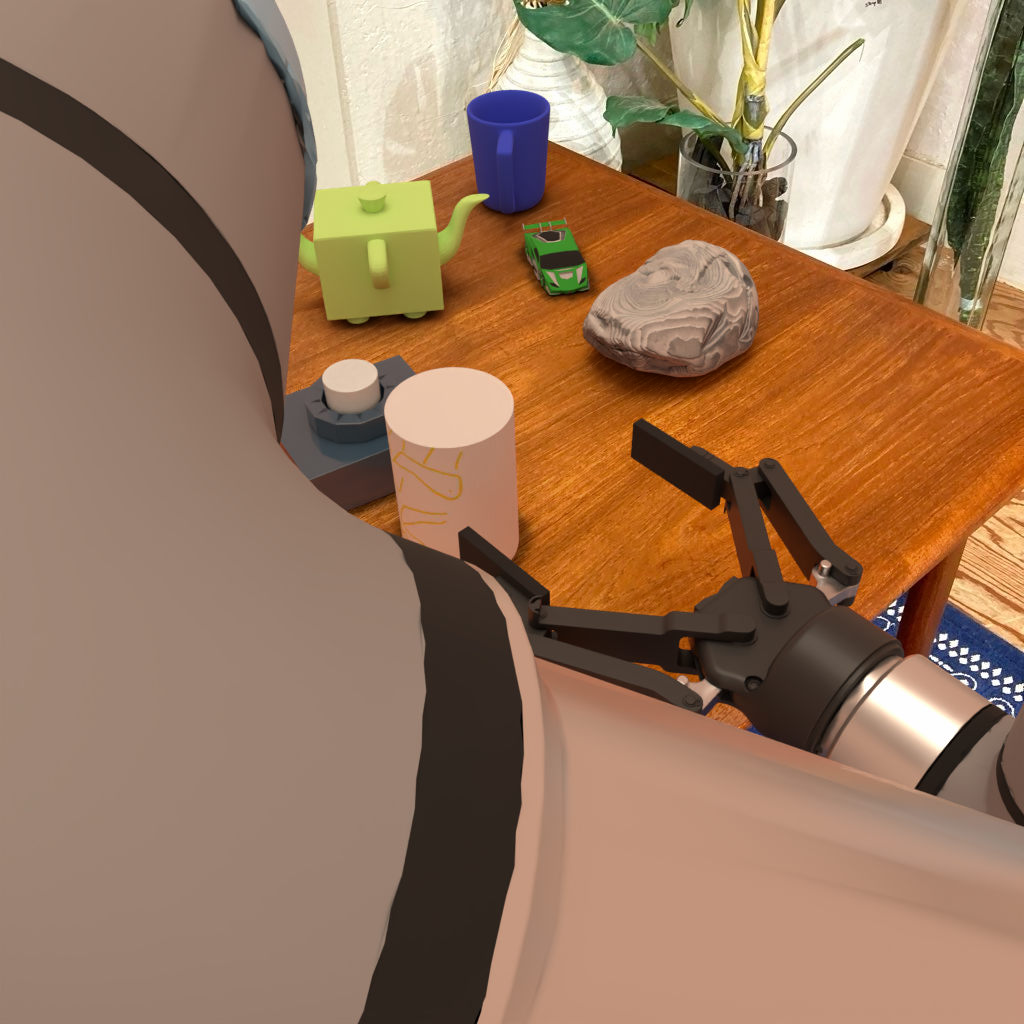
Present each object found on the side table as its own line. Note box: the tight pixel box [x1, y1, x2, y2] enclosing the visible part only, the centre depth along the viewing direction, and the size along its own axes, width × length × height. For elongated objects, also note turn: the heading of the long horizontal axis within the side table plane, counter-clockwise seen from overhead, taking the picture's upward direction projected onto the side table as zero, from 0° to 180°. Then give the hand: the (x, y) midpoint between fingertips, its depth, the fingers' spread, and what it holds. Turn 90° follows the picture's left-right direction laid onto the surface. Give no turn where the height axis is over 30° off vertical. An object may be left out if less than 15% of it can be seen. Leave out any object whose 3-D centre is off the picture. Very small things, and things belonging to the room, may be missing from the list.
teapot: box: [298, 179, 489, 325], centre depth 94 cm, size 15×13×11 cm
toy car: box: [521, 217, 590, 296], centre depth 100 cm, size 10×5×2 cm, turn 13°
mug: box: [466, 89, 551, 215], centre depth 106 cm, size 8×12×10 cm
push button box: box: [280, 354, 417, 512], centre depth 80 cm, size 12×10×6 cm
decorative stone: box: [582, 239, 760, 378], centre depth 89 cm, size 15×14×10 cm
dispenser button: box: [321, 358, 381, 414], centre depth 78 cm, size 4×4×2 cm
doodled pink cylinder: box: [384, 366, 520, 561], centre depth 71 cm, size 8×8×12 cm
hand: (554, 488), depth 62 cm, fingers open, 13 cm apart
